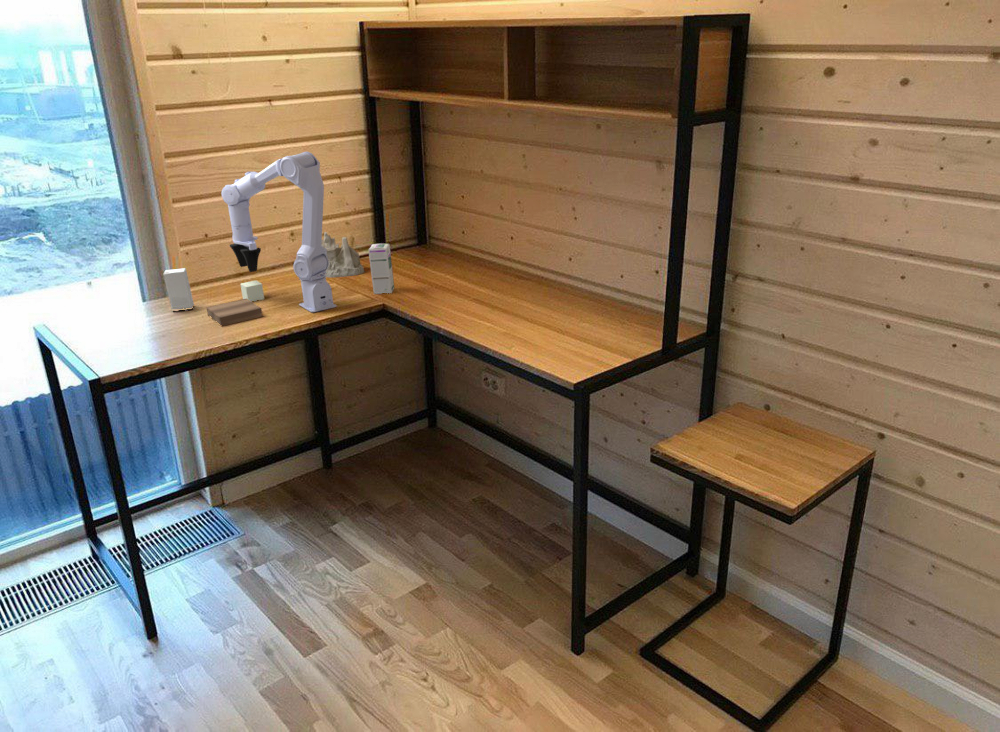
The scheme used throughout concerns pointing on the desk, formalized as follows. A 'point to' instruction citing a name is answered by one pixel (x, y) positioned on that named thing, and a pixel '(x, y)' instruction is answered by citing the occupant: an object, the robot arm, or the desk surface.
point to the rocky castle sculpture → (341, 258)
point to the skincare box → (178, 288)
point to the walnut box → (234, 311)
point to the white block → (252, 291)
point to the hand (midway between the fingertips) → (248, 268)
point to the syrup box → (381, 268)
